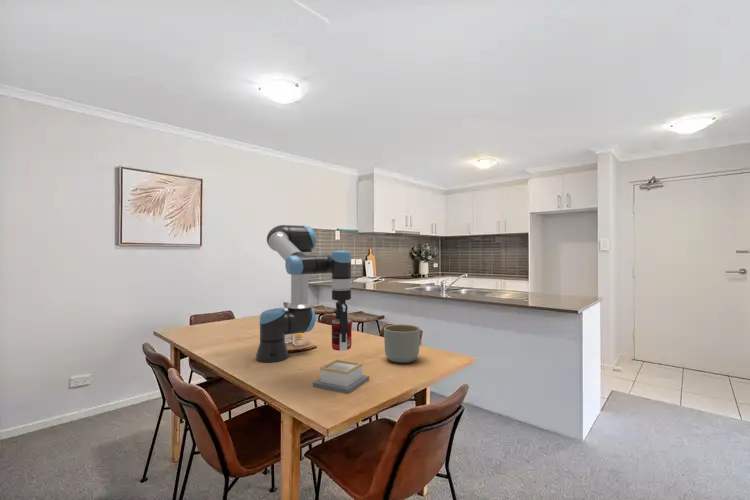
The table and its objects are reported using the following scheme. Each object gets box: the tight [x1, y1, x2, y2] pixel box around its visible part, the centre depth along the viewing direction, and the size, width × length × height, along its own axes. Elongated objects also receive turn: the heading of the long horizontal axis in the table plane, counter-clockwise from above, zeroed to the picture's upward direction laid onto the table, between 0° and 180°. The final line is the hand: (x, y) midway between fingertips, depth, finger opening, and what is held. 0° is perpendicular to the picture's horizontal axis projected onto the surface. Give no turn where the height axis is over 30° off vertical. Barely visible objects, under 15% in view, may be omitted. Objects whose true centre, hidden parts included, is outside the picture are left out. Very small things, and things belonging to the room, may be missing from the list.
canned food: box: [331, 318, 352, 352], centre depth 143 cm, size 8×8×11 cm
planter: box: [383, 323, 421, 364], centre depth 173 cm, size 17×17×15 cm
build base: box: [312, 358, 370, 394], centre depth 143 cm, size 16×16×7 cm
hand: (341, 347), depth 143 cm, fingers closed on canned food, 8 cm apart
